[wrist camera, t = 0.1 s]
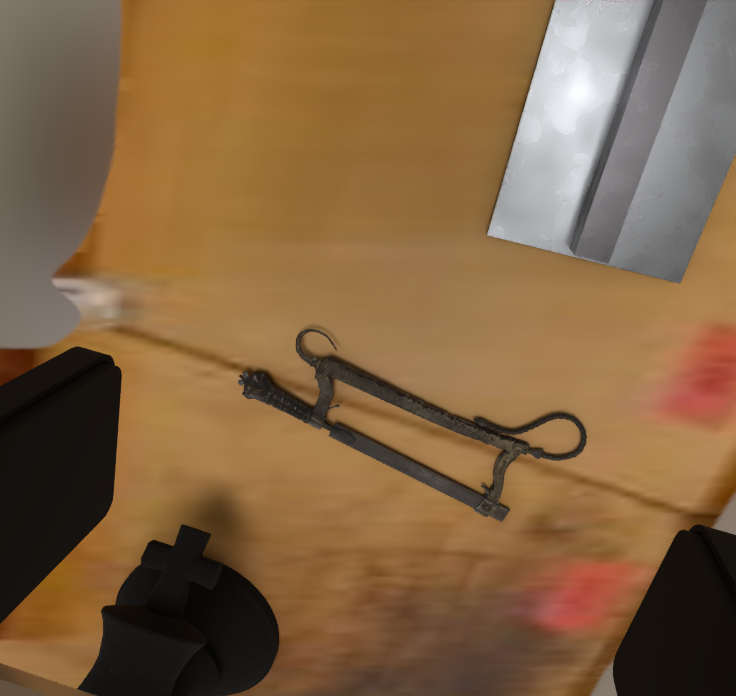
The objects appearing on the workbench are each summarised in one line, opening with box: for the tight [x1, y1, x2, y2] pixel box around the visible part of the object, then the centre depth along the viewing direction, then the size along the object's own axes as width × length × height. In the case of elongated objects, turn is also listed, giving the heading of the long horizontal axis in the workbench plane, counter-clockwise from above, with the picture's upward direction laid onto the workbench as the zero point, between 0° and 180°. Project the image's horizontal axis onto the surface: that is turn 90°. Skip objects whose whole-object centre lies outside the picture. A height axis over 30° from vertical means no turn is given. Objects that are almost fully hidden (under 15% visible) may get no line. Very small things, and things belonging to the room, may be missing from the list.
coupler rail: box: [487, 0, 736, 283], centre depth 34 cm, size 16×12×4 cm
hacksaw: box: [238, 329, 587, 522], centre depth 43 cm, size 24×10×1 cm, turn 65°
